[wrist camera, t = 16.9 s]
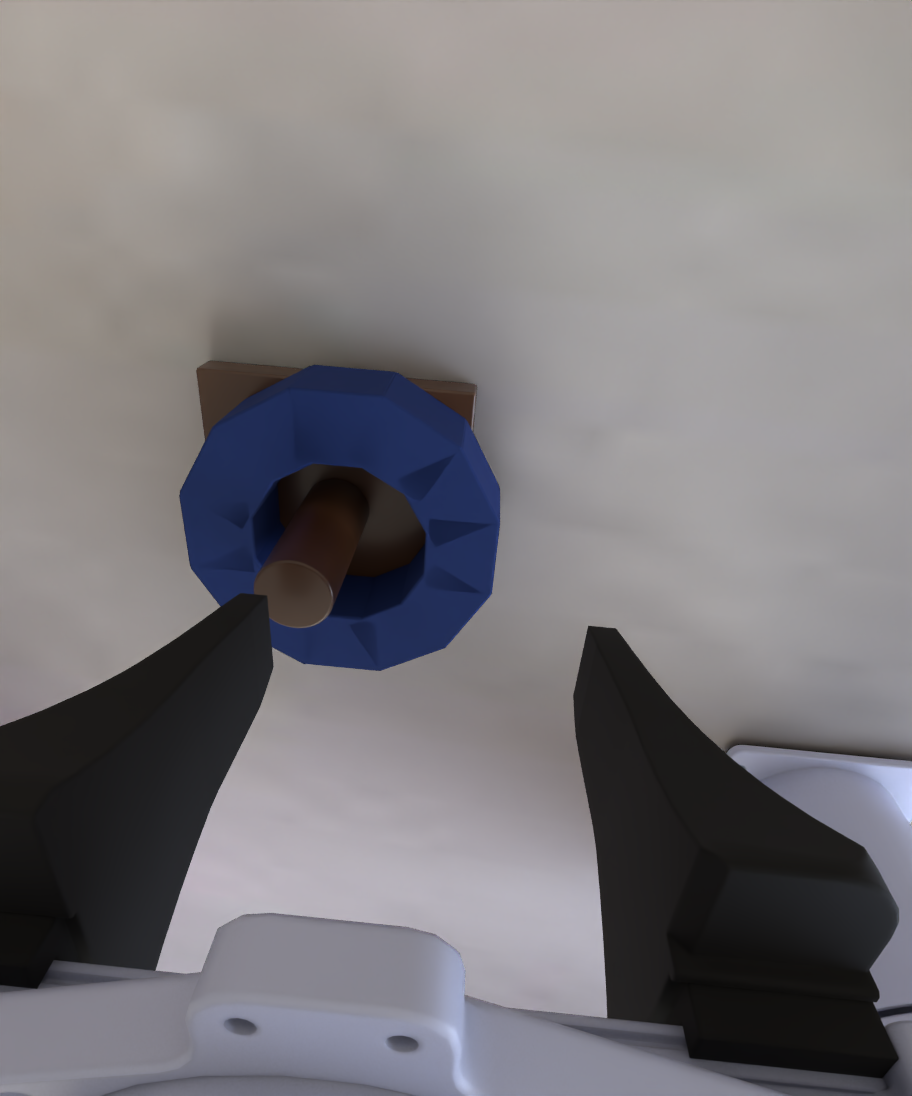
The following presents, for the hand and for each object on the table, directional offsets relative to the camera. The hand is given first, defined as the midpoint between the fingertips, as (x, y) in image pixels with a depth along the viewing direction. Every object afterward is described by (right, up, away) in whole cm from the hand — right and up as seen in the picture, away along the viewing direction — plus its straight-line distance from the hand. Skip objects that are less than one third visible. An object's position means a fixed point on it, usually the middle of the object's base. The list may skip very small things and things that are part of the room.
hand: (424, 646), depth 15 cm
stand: (-3, +4, +7) cm, 8 cm away
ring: (-2, +3, +6) cm, 7 cm away
